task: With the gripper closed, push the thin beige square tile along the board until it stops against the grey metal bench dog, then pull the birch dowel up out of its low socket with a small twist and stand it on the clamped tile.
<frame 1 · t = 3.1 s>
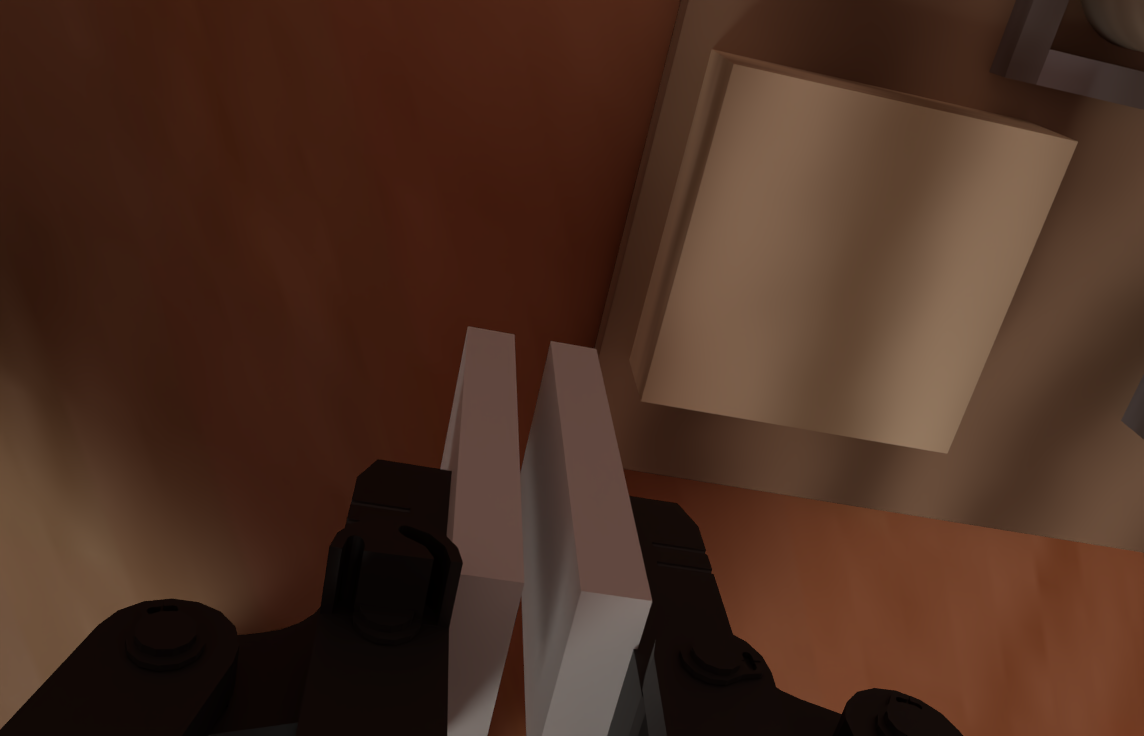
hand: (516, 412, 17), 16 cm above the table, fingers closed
thin beige square tile: (820, 245, 32), point 1 cm above the table, touching board
board: (973, 204, 33), on the table
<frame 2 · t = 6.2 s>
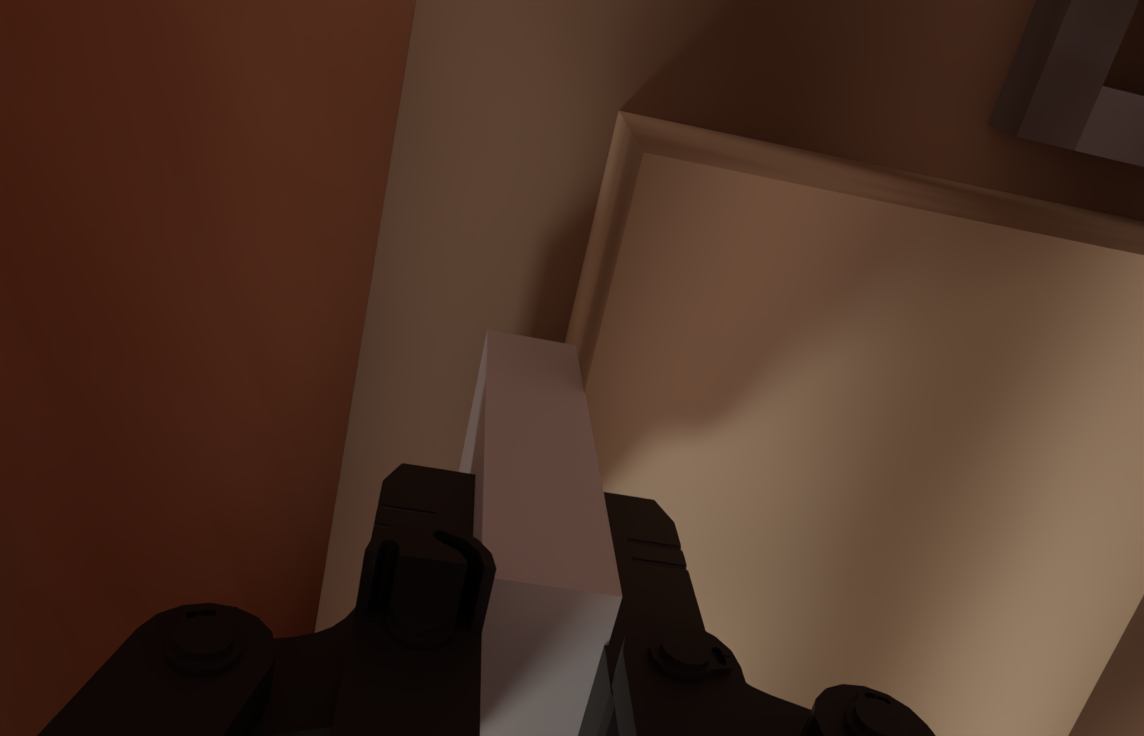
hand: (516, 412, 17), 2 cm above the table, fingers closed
thin beige square tile: (818, 436, 19), point 1 cm above the table, touching board, gripper
board: (958, 342, 19), on the table
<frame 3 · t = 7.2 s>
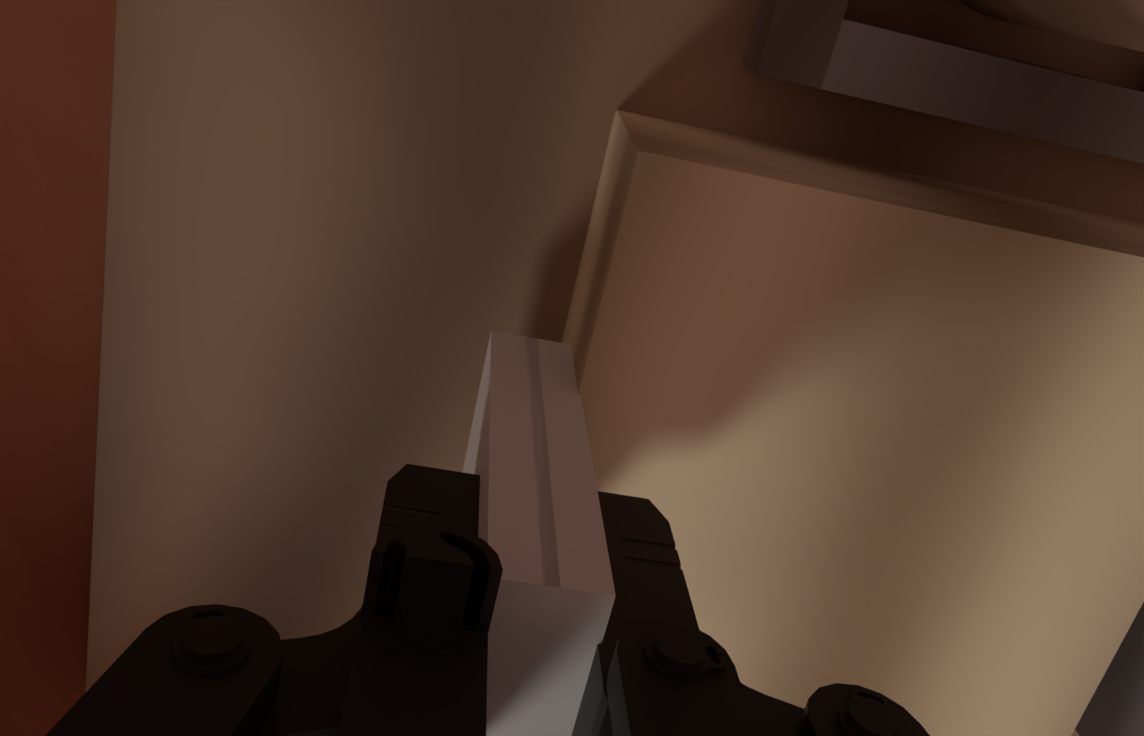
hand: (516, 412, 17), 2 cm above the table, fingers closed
thin beige square tile: (817, 438, 19), point 1 cm above the table, touching board, gripper
board: (752, 301, 19), on the table
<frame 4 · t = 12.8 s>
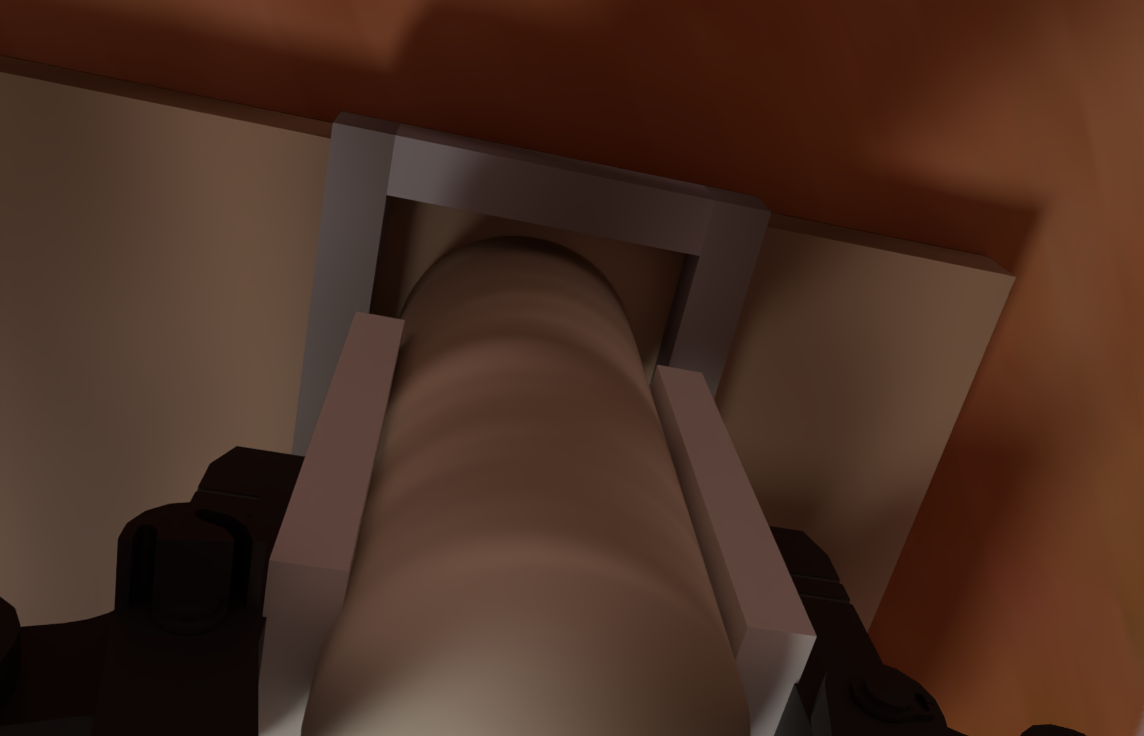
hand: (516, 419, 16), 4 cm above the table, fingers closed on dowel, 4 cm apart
board: (360, 622, 23), on the table
dowel: (514, 348, 19), point 1 cm above the table, touching gripper
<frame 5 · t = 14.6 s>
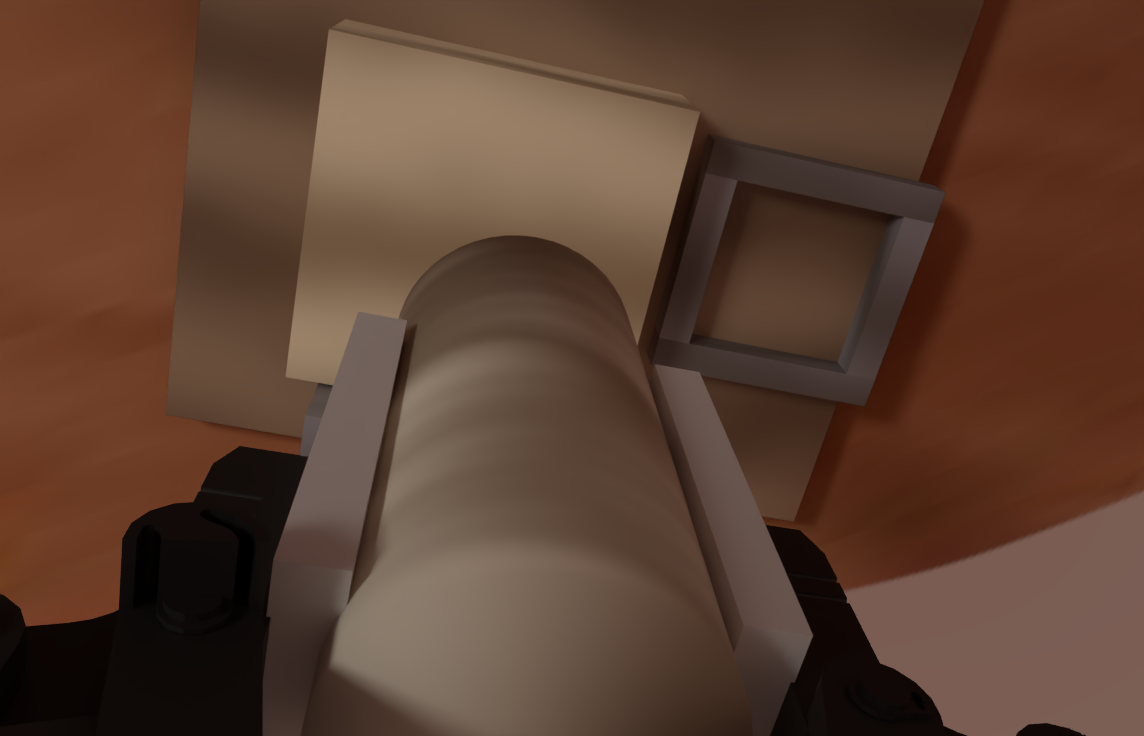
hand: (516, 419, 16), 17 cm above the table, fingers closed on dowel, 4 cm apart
thin beige square tile: (485, 221, 31), point 1 cm above the table, touching board
board: (562, 151, 32), on the table
dowel: (514, 348, 19), point 14 cm above the table, touching gripper
when the fingers open (8 cm above the table, at t = 16.7 s): dowel drops 1 cm, resting on thin beige square tile.
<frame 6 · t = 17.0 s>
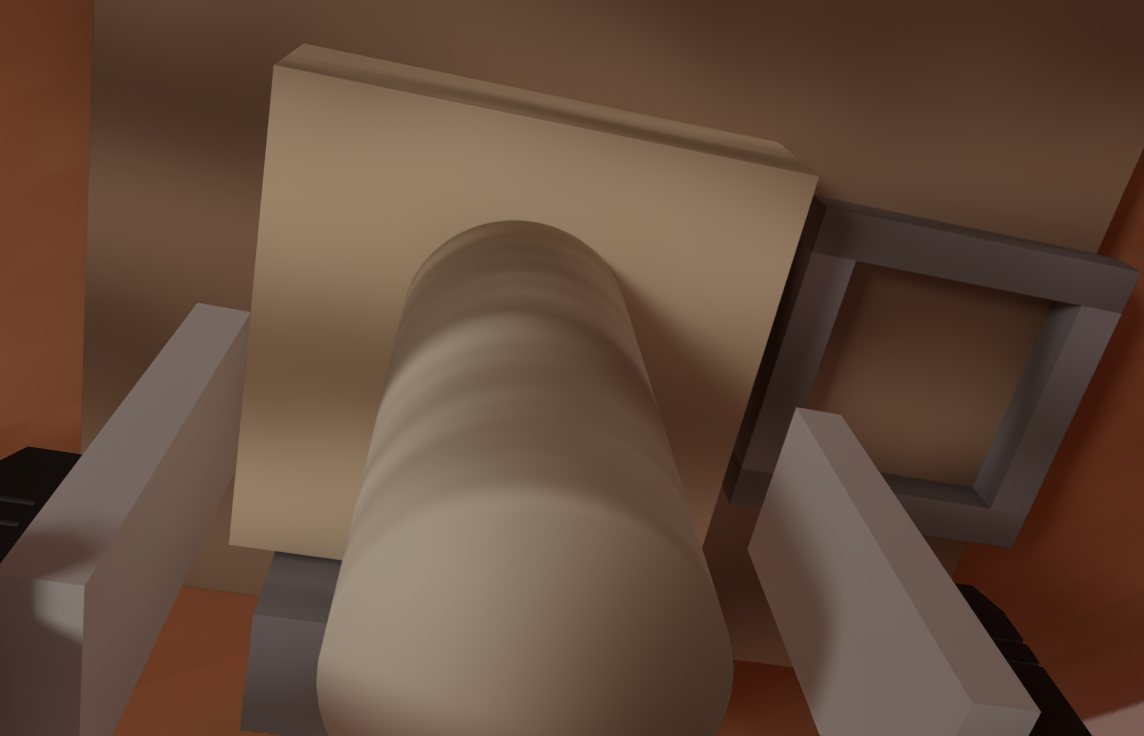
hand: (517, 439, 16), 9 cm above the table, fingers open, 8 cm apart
thin beige square tile: (505, 316, 23), point 1 cm above the table, touching board, dowel
board: (608, 217, 23), on the table
dowel: (515, 329, 20), point 4 cm above the table, touching thin beige square tile
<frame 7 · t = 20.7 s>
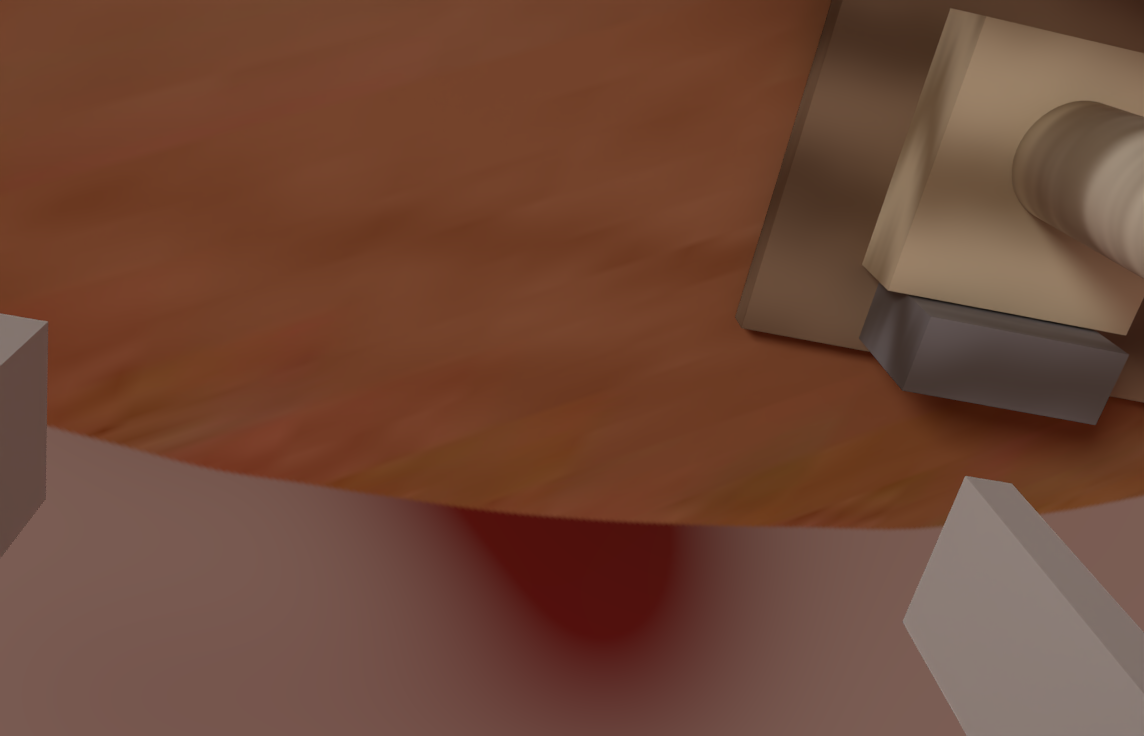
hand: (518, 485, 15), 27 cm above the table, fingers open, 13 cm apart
thin beige square tile: (1022, 168, 40), point 1 cm above the table, touching board, dowel
board: (1077, 112, 40), on the table
dowel: (1071, 162, 37), point 4 cm above the table, touching thin beige square tile
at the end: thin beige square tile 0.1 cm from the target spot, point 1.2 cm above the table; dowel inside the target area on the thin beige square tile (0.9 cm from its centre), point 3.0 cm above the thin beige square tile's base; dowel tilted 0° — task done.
